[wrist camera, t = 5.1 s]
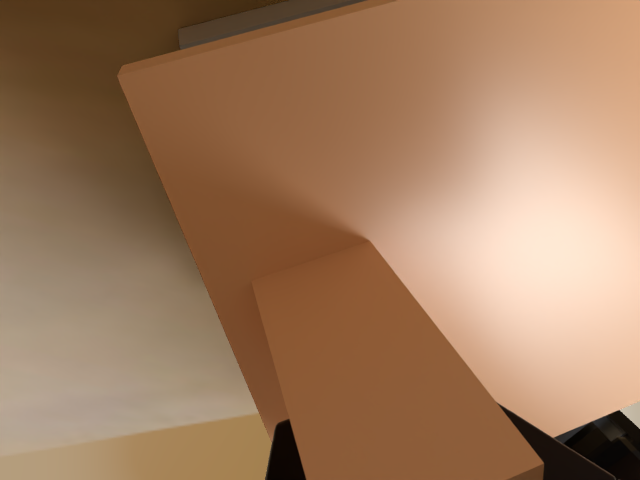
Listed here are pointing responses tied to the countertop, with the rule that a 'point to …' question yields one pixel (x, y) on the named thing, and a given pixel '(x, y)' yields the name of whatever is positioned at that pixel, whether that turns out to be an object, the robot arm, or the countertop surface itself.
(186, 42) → the tub
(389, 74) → the lid
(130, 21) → the countertop surface
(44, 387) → the countertop surface
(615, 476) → the robot arm
